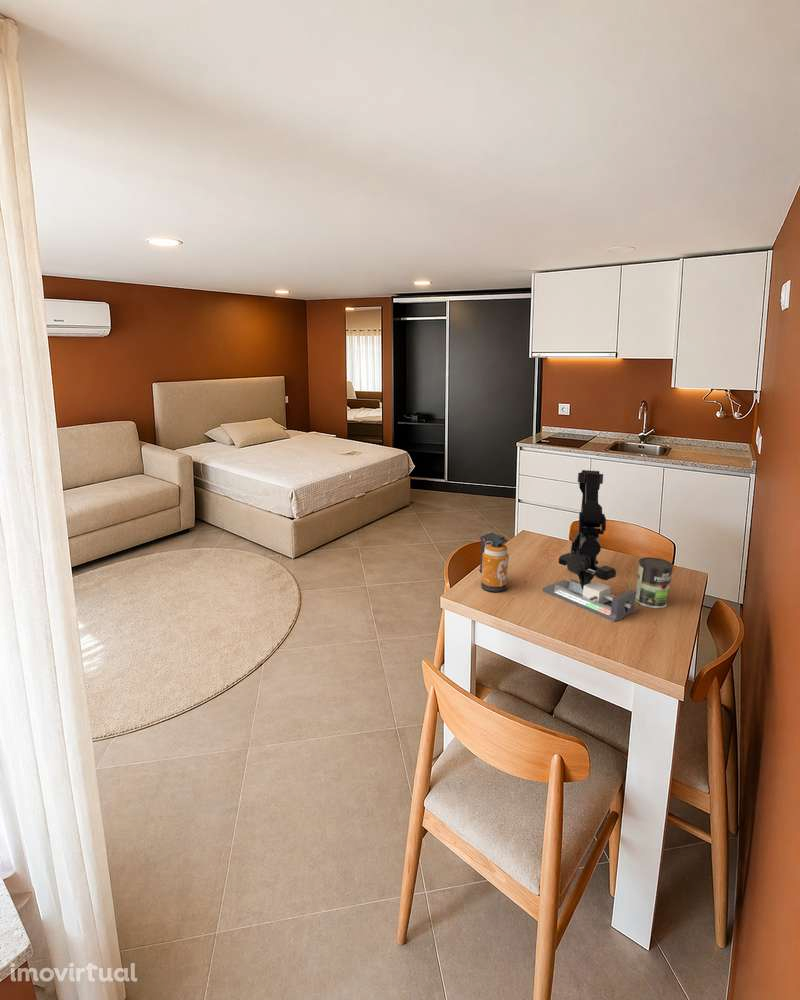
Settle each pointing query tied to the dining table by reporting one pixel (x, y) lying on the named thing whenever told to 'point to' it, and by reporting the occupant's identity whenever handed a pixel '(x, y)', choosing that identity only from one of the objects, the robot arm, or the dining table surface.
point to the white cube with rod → (599, 592)
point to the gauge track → (607, 610)
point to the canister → (494, 562)
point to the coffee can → (653, 582)
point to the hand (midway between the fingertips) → (583, 589)
